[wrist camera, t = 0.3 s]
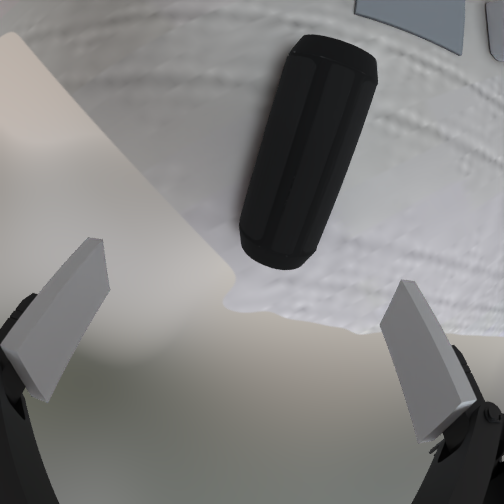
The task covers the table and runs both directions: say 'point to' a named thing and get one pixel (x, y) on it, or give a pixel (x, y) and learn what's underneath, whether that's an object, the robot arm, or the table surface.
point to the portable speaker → (306, 149)
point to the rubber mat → (421, 19)
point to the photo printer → (496, 28)
